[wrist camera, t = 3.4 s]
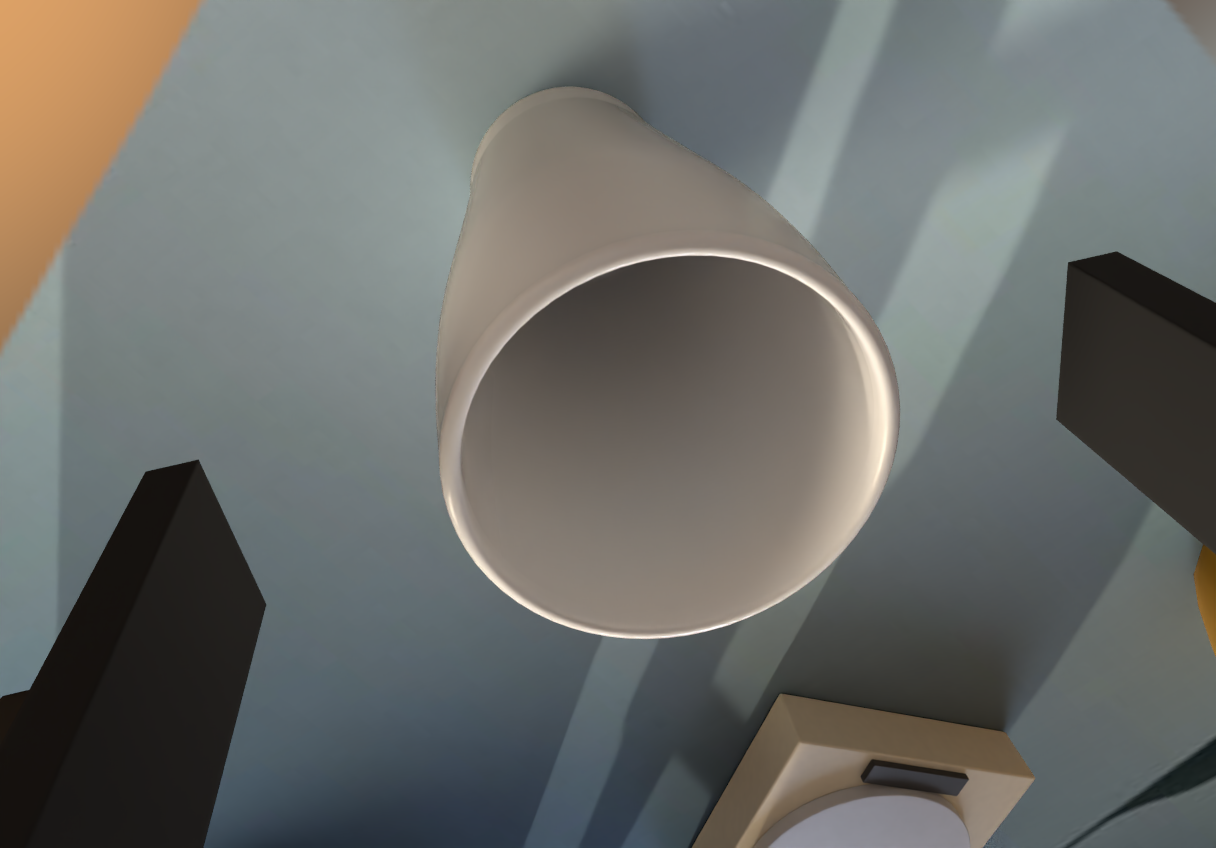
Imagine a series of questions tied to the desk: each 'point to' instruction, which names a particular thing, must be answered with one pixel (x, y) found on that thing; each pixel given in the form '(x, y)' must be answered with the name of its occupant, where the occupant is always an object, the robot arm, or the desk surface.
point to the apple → (1207, 591)
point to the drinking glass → (648, 381)
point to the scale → (866, 782)
